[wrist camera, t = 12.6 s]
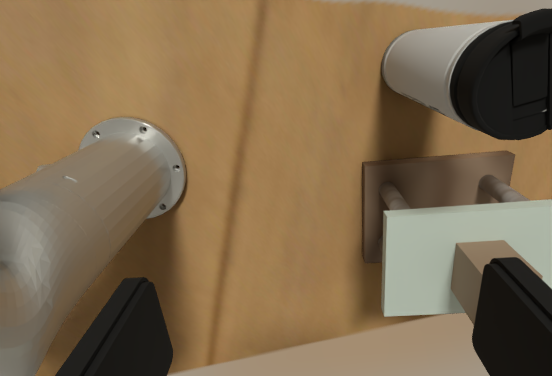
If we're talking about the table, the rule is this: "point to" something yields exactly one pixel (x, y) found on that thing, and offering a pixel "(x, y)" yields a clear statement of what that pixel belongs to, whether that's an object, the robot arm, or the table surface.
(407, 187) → the peg stand
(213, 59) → the table surface
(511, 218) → the shelf board
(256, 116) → the table surface
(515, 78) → the travel mug
